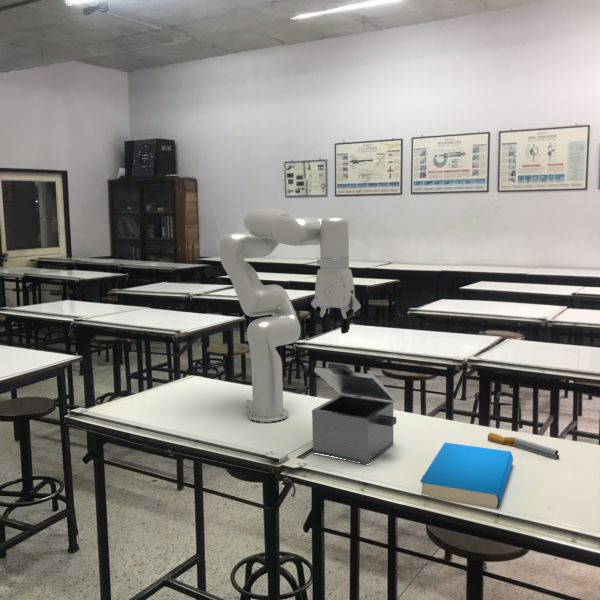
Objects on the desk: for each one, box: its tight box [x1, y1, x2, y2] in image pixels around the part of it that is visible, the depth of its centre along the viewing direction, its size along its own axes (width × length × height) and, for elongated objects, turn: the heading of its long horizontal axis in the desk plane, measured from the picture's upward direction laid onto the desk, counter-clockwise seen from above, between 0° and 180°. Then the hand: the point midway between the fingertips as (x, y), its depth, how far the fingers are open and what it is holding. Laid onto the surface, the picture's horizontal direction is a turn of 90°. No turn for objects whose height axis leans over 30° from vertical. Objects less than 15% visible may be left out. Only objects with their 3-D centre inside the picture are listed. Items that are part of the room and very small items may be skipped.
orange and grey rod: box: [487, 432, 560, 460], centre depth 161 cm, size 19×3×3 cm
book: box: [420, 442, 514, 509], centre depth 143 cm, size 17×4×25 cm
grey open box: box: [311, 394, 397, 464], centre depth 162 cm, size 20×16×12 cm
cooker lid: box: [313, 362, 396, 402], centre depth 161 cm, size 17×21×3 cm
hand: (335, 331), depth 164 cm, fingers open, 4 cm apart
